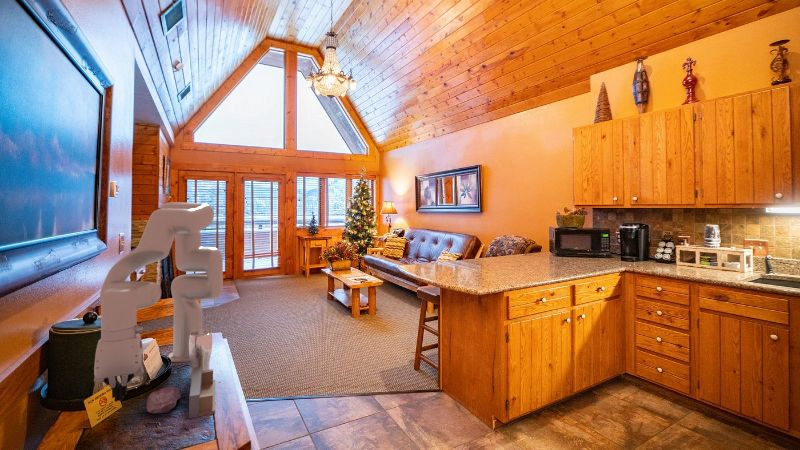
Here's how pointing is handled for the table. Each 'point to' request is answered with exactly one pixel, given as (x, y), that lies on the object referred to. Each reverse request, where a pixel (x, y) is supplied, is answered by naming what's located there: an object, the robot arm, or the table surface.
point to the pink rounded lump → (163, 400)
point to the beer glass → (200, 349)
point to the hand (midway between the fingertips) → (119, 398)
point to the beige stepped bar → (202, 393)
